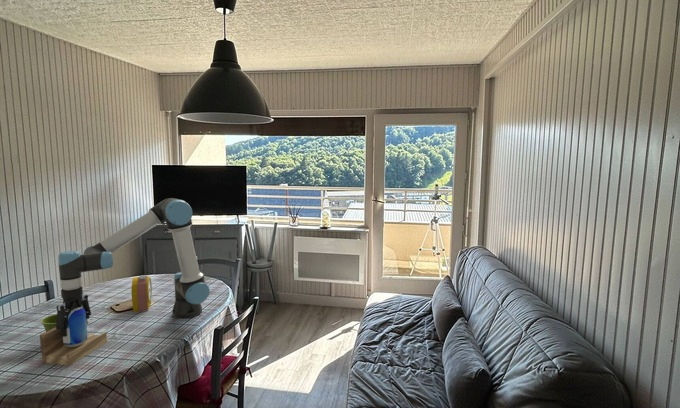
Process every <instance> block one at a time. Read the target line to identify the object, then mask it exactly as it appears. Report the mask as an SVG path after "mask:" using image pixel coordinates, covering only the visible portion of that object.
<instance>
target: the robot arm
mask: <svg viewBox="0 0 680 408" xmlns="http://www.w3.org/2000/svg"><path fill="white" fill-rule="evenodd" d="M192 218H193V209H192V207H191V206H190V204H189V203H188V202H186V201H185V200H183V199H178V198H173V197H170V198H169V197H168V198H165V199H163V200H162V201H160V202H158V203H157V204H156V205H154V206H152V207H151V208H149V209H148V211H147V212H146V213H145V214H143V215H142V216H140V217H139V218H136V219H135V220H134V221H133V220H132V222H130V223H129V224H126V225H125V226H124V227H122V228H120V229H119V230H117V231H116V232H114V233H112V234H110V235H109V236H108V237H106V238H103V240H101V241H99V242H97V243H96V244H94V245H89V246H87V247H86V248H85V249H84V251H83V254H81V253H80V251H79V250H67V251H62V252H60V253H59V254H58V259H57V260H58V271H59V272H58V273H59V282H60V294H61V298H62V304H59V305H56V314H57V322H56V329H60V330H61V334H62V337H63V343H71V342H70V330H69V328H67V327H68V324H69V321H68V316H69V313H70V312H71V311H73V309H75V308H77V307H82V308H83V309H84V310H85V314H86V327H87V328H88V319H90V318H91V317H90V316H91V315H92V312H91V311H92V310H91V307H90V304H89V300H88V299H89V295H88V294H84V292H83V291H84V290H83V280H82V279H83V278H82V277H83V276H82V273H85V272H93V271H101V270H106V269H111V268H112V267H113V266H114V257H113V254H114V253H115V252H117V251H119V249H122V248H123V247H124V246H126V245H128V244H129V243H131V242H133V241H135V240H136V239H137V238H139V237H140V236H142V235H143V234H145V233H147V232H148V231H150V230H151V229H153V228H155V227H157V226H158V225H159V226H162V225H163V224H165V225H166V229H167V231H170V232H171V234H172V240H173V243H174V248H175V252H176V257H177V260H178V265H179V269H180V272H176V273H175V274H174V277H173V281H174V282H173V283H174V298H175V299H174V303H173V307H172V312H171V314H172V317H174V318H176V319H190V318H193V317H196V316H199V315H201V313H202V312H203V306H202V303H203V302H205V301H206V300H207V299H208V297H209V295H210V290H211V289H210V287H209V285H208V284H207V283H206V280H205V274H204V273H203V272H201V271H200V267H199V264H198V263H199V262H198V259H197V258H198V257H197V253H196V249H195V244H194V240H193V236H192V231H191V227H192V225H193V220H192ZM67 309H69V310H67ZM66 311H68V312H66ZM65 316H66V317H65Z"/></svg>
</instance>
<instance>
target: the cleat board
mask: <svg viewBox="0 0 680 408" xmlns="http://www.w3.org/2000/svg"><path fill="white" fill-rule="evenodd" d="M107 337H108V335H107V332H102V333H100V334H90V333H89V334H88V333H87V340H86V341H85V343H84V344H82V345H79V346H76V347H67V346H66V345H65V344H64V343H63V337H62V334H61V330H60V329H56V327H55V328H53V329H51V330H49V331H47V332H46V331H45V332H43V333H41V334H39V343H40V351H41V352H40V353H41V363H42V364H44V363H45V364H52V365H61V366H62V365H63V366H71V365H72V364H74V363H76V362H78V361H80V360H81V359H83V358H85V357H86V356H87V355H89V354H90V353H93V352H94V351H95V350H97V349H98V348H101V347H102V346H103V345H105V344H107V343H108V340H107V339H108V338H107Z"/></svg>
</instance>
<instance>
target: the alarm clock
mask: <svg viewBox="0 0 680 408" xmlns="http://www.w3.org/2000/svg"><path fill="white" fill-rule="evenodd" d="M152 290H153V288H152V278H151V277H150V275H147V274H143V275H142V274H141V275H139V276H138V277H137V276H136V277H132V281H131V302H132V312H133V313H136V312H145V311H146V312H148V311H150V306H151V304H152V293H153V292H152Z"/></svg>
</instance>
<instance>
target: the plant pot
mask: <svg viewBox="0 0 680 408" xmlns="http://www.w3.org/2000/svg"><path fill="white" fill-rule="evenodd" d="M56 322H57V313H55V314H52V315H48V316H46V317H44V318H42V319H41V320H40V323H41V324H42V325H43V328H44V331H45V332H47V331H49V330H51V329H53V328H55V327H56Z"/></svg>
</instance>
